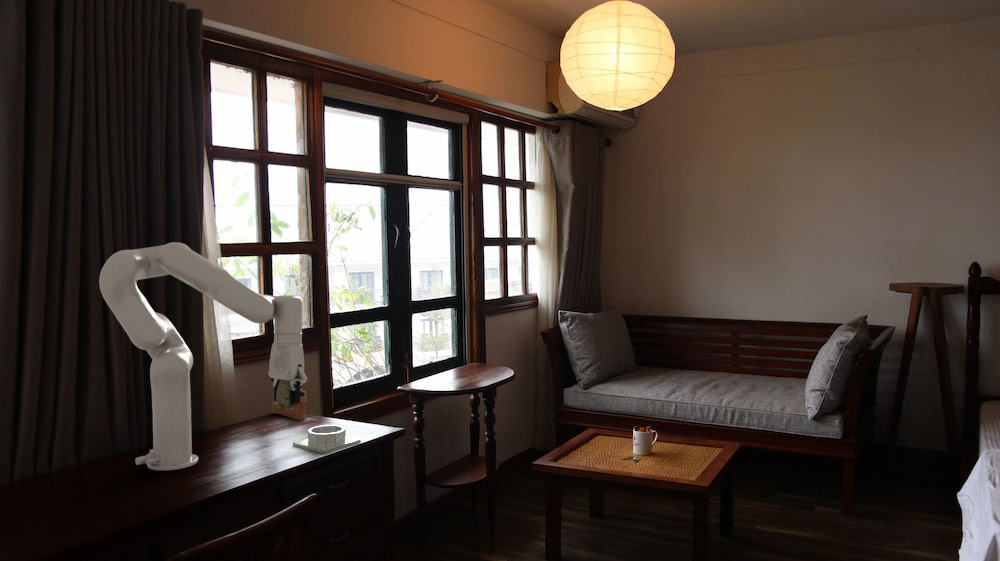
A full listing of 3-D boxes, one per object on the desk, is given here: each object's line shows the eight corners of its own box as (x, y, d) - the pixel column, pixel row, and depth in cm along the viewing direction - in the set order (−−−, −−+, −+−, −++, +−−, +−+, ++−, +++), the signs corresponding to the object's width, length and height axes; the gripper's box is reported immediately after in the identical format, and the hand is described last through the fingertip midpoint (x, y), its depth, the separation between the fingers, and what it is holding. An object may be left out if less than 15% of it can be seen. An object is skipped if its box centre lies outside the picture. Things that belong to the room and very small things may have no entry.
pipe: (298, 422, 241) (297, 393, 240) (267, 414, 252) (267, 386, 252) (310, 420, 244) (310, 391, 244) (280, 412, 256) (279, 384, 256)
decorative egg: (301, 409, 203) (302, 374, 203) (282, 412, 199) (283, 376, 198) (291, 405, 207) (291, 371, 207) (272, 408, 203) (272, 373, 203)
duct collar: (325, 453, 204) (325, 438, 204) (292, 446, 212) (292, 431, 212) (360, 442, 216) (360, 427, 216) (328, 435, 224) (328, 421, 224)
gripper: (257, 337, 204) (256, 400, 205) (298, 343, 194) (296, 408, 195) (278, 335, 210) (277, 396, 211) (319, 340, 201) (318, 404, 201)
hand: (287, 401), depth 203 cm, fingers closed on decorative egg, 6 cm apart
